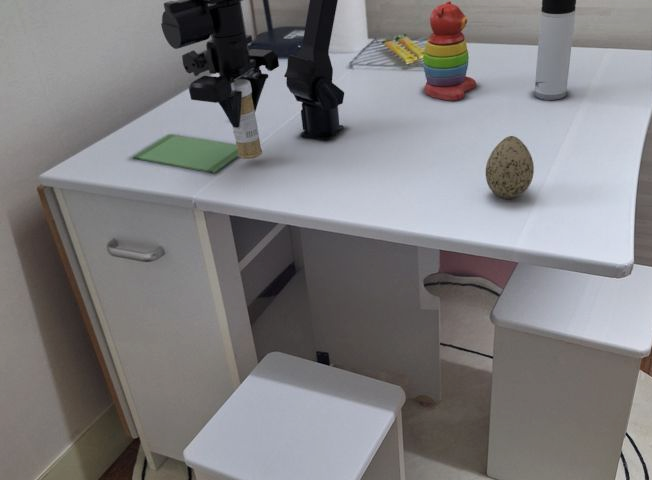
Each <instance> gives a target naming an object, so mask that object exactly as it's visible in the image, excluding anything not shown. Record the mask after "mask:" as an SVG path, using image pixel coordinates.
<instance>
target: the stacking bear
mask: <svg viewBox="0 0 652 480" xmlns="http://www.w3.org/2000/svg"><path fill="white" fill-rule="evenodd" d="M467 23H468V18H467V16H466V15H465V14H464V12H463V11H462V10H461V8H460V7H459V6H457V5H456V4H454V3H452V1H450V0H448V1H446V2H445V3H443V4H439V5H437V6H435V7H434V9H432V11H431V13H430V17H429V25H430V28H431V31H432V33H431V34H430V35H429V37H428V39H427V40H426V42H425V45H424V46H425V47H424V52H423V59H422V62H423V63H422V65H423V72H424V76H425V79H426V82H425V85H424V93H425V94H427V95H428V96H430V97H432V98H434V99H438V100H444V101H452V102H453V101H455V102H456V101H461V100H462V99H464V98H465V92H467V91H470V90H473V89H475V88H476V87H477V81H476V80H475V79H474V78H472V77H470V76H467V72H468V68H469V58H470V56H469V50H468V45H467V41H466V36H465V35H464V33H463V32H462V31H463V30H464V29H465V27H466V25H467Z"/></svg>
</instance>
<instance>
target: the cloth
mask: <svg viewBox="0 0 652 480" xmlns="http://www.w3.org/2000/svg"><path fill="white" fill-rule="evenodd" d="M237 158H239V156H238V149H237V144H232V143H227V142H219V141H213V140H208V139H201V138H196V137H195V138H194V137H187V136H181V135H175V134H167V135H166V136H163V137H162V138H161V139H158V140H157V141H156V142H154V143H152V144H150V145H149V146H147V147H146V148H144V149H142V150H141V151H139V152H137V153H136V154H134V155H132V159H134V160H139V161H146V162H152V163H156V164H163V165H167V166H174V167H179V168H185V169H188V170H189V169H190V170H195V171H201V172H206V173H210V174H211V173H212V174H216V173H217V172H219V171H220V170H222V169H223V168H224V167H226V166H227V165H229V164H230V163H232V162H233V161H234V160H236V159H237Z"/></svg>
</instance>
